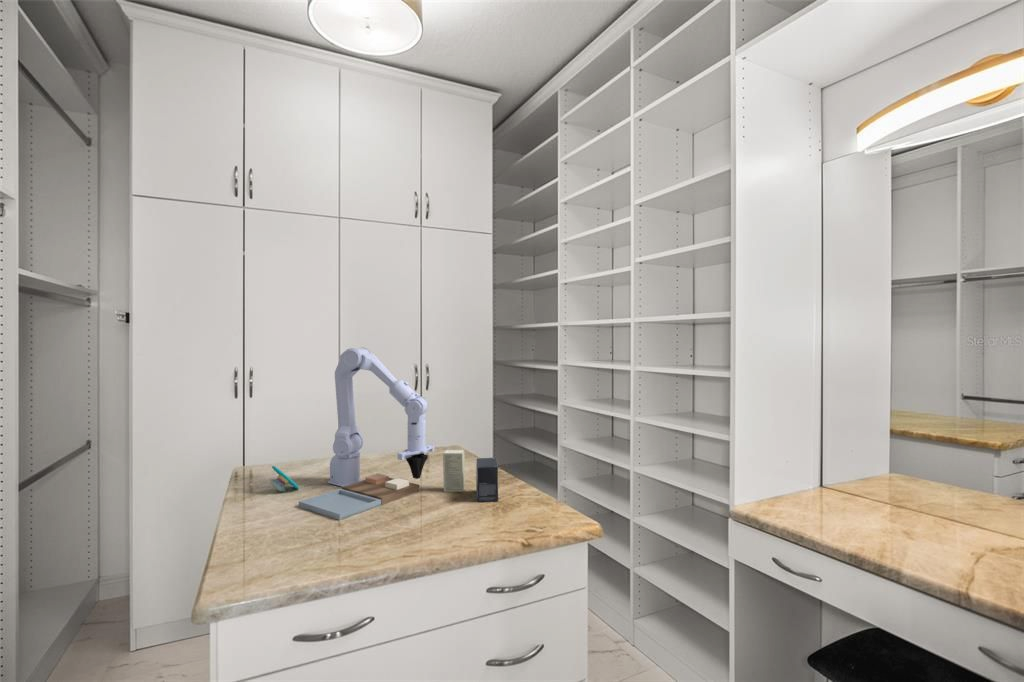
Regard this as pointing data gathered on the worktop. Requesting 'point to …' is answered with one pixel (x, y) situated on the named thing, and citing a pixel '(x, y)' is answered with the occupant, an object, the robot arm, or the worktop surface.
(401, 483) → the cream tile
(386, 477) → the terracotta tile
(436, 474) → the worktop surface
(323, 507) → the box
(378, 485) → the walnut board
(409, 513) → the worktop surface
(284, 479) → the ornament
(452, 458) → the skincare box
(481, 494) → the small box
